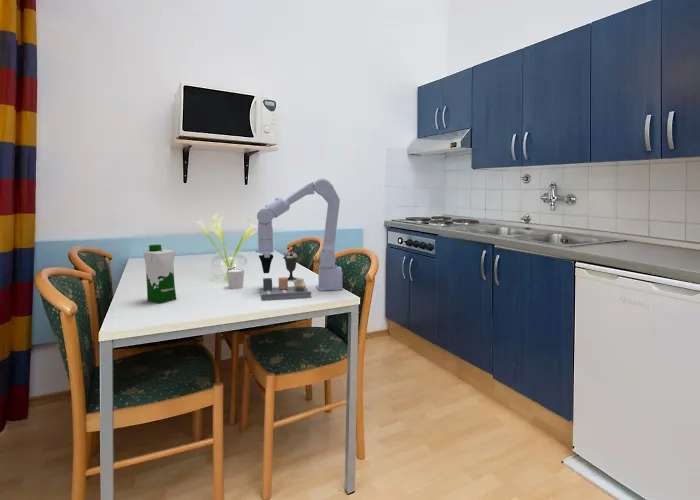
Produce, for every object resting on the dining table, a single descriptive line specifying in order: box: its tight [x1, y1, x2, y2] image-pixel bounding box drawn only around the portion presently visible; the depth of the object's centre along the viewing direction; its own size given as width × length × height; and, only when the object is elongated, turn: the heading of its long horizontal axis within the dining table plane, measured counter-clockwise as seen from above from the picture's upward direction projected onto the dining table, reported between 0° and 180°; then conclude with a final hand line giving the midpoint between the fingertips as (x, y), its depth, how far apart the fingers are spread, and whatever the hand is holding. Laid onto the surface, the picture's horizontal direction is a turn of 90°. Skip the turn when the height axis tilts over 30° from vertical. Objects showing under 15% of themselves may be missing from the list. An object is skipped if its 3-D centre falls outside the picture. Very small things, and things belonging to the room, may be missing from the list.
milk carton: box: [142, 244, 177, 304], centre depth 156 cm, size 9×9×20 cm
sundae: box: [282, 245, 299, 281], centre depth 193 cm, size 7×7×15 cm
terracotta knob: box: [278, 276, 289, 289], centre depth 169 cm, size 3×3×4 cm
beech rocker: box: [292, 278, 307, 288], centre depth 168 cm, size 4×6×1 cm, turn 15°
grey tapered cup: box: [226, 268, 245, 290], centre depth 178 cm, size 7×7×7 cm
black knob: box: [262, 277, 273, 290], centre depth 168 cm, size 3×3×4 cm
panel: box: [259, 285, 312, 302], centre depth 166 cm, size 18×15×3 cm
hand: (266, 272), depth 172 cm, fingers closed
